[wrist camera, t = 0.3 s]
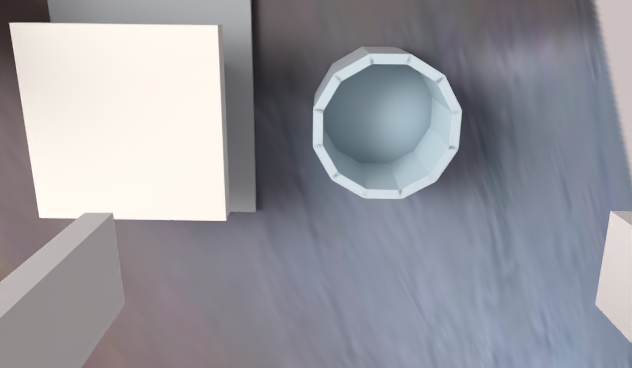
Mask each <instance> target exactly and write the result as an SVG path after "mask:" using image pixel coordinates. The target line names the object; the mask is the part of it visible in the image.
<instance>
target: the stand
mask: <svg viewBox="0 0 632 368" xmlns="http://www.w3.org/2000/svg"><path fill="white" fill-rule="evenodd" d="M48 7H49V15H50V22H51V23H122V24H204V25H222V26H223V51H224V76H225V101H226V126H227V151H228V176H229V201H230V212H256V167H255V125H254V84H253V42H252V0H48Z"/></svg>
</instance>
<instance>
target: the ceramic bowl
mask: <svg viewBox="0 0 632 368" xmlns="http://www.w3.org/2000/svg"><path fill="white" fill-rule="evenodd" d="M461 117H462V110H461V107H460V105H459V103H458V101H457V99H456V97H455V95H454V93H453V91H452V89H451V87H450V85H449V83H448V81H447V79H446V76H445V75H444V74H442V73H440V72H439V71H437V70H436V69H434V68H432V67H431V66H429V65H428V64H426V63H424V62H423V61H421V60H420V59H418V58H416V57H415V56H413V55H412V54H410V53H408V52H406V51H404V50H402V49H400V48H398V47H361V48H359V49H357V50H356V51H354V52H352V53H350V54H348V55H346V56H344V57H343V58H341V59H340V60H338V61H336V62H335V63H333V64H332V65H331V67H330V69H329V70H328V72H327V74H326V75H325V77H324V78H323V80H322V82H321V84H320V86H319V87H318V89H317V91H316V92H315V98H314V107H313V148H314V150H315V152H316V154H317V155H318V157H319V159H320V160H321V162H322V164H323V166H324V167H325V169H326V171H327V173H328V174H329V176H330V178H331V179H332V180H333V181H335V182H336V183H338V184H340V185H342V186H343V187H345V188H347V189H349V190H350V191H352V192H354V193H356V194H357V195H359V196H361V197H363V198H379V199H403V198H404V197H406V196H408V195H410V194H412V193H414V192H416V191H418V190H420V189H422V188H424V187H426V186H428V185H430V184H432V183H434V182H436V181H437V179H438V178H439V177H440V175H441V174H442V172H443V171H444V169H445V168H446V166H447V165H448V164H449V162H450V161H451V159H452V158H453V156H454V155H455V154H456V152H457V151H458V148H459V138H460V127H461Z"/></svg>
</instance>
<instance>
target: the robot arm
mask: <svg viewBox="0 0 632 368" xmlns="http://www.w3.org/2000/svg"><path fill="white" fill-rule="evenodd" d="M124 305H125V301H124V293H123V285H122V278H121V270H120V262H119V255H118V247H117V239H116V232H115V224H114V216H113V213H84V214H82V215H81V216H80V217H79V218H77V219H76V220H75V221H74V222H73V223H71V224H70V225H69V226H68V227H67V228H65V229H64V230H63V231H62V232H60V233H59V234H58V235H57V236H56V237H54V238H53V239H52V240H51V241H50V242H48V243H47V244H46V245H45V246H43V247H42V248H41V249H40V250H39V251H37V252H36V253H35V254H34V255H32V256H31V257H30V258H29V259H28V260H26V261H25V262H24V263H23V264H22V265H20V266H19V267H18V268H17V269H15V270H14V271H13V272H12V273H11V274H9V275H8V276H7V277H6V278H5V279H3V280H2V281H1V282H0V368H82V366H83V365H84V363H85V362H86V360H87V359H88V357H89V356H90V354H91V353H92V352H93V350H94V349H95V347H96V346H97V344H98V343H99V341H100V340H101V339H102V337H103V336H104V334H105V333H106V331H107V330H108V328H109V327H110V326H111V324H112V323H113V321H114V320H115V318H116V317H117V315H118V314H119V312H120V311H121V310H122V308H123V307H124ZM595 305H596V306H597V307H598V308H599V309H600V310H601V311H602V312H603V313H604V314H605V315H606V316H607V317H608V319H609V320H610V321H611V322H612V323H613V324H614V325H615V326H616V327H617V328H618V329H619V330H620V331H621V332H622V333H623V335H624V336H625V337H626V338H627V339H628V340H629V341H630V342H631V343H632V211H611V212H610V218H609V224H608V230H607V236H606V243H605V249H604V255H603V261H602V267H601V273H600V279H599V285H598V291H597V297H596V303H595Z"/></svg>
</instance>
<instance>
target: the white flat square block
mask: <svg viewBox="0 0 632 368" xmlns="http://www.w3.org/2000/svg"><path fill="white" fill-rule="evenodd" d="M9 25H10V31H11V38H12V44H13V51H14V57H15V63H16V70H17V76H18V83H19V89H20V95H21V102H22V108H23V115H24V121H25V128H26V134H27V140H28V147H29V153H30V160H31V166H32V172H33V179H34V185H35V192H36V198H37V204H38V211H39V217H40V218H79V217H80V216H81V215H82V214H84V213H113V216H114V219H144V220H206V221H226V220H227V218H228V216H229V214H230V201H229V176H228V151H227V126H226V101H225V76H224V51H223V26H222V25H204V24H122V23H39V22H18V23H9Z"/></svg>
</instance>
